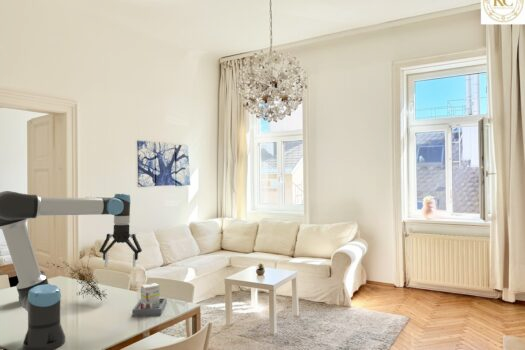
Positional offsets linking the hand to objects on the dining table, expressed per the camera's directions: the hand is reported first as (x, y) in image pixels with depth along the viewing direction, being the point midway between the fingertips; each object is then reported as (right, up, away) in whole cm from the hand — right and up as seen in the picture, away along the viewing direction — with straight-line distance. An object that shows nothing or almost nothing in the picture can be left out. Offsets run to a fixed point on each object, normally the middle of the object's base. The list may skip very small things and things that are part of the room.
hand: (120, 266), depth 194 cm
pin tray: (+13, -24, +8) cm, 29 cm away
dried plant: (-32, -25, +25) cm, 48 cm away
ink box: (+13, -24, +8) cm, 28 cm away
